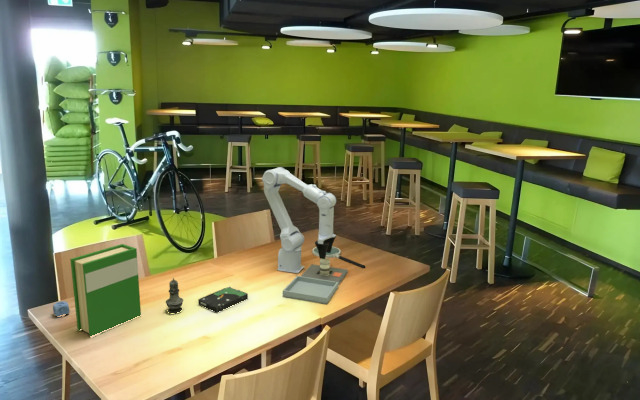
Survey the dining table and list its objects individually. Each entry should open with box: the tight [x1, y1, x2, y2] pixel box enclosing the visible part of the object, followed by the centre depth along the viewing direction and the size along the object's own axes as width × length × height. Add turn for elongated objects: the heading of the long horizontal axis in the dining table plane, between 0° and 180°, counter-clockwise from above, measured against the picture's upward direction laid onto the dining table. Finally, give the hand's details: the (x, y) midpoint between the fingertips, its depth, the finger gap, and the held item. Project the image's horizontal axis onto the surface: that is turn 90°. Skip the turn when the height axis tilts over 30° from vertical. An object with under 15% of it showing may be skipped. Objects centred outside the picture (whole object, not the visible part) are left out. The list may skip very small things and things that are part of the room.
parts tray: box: [282, 275, 339, 305], centre depth 180 cm, size 17×15×2 cm
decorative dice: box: [52, 300, 70, 316], centre depth 158 cm, size 4×4×4 cm
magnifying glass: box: [312, 245, 366, 269], centre depth 217 cm, size 13×31×2 cm, turn 42°
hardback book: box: [70, 243, 142, 337], centre depth 151 cm, size 18×7×24 cm, turn 146°
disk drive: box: [197, 286, 249, 313], centre depth 171 cm, size 10×3×15 cm
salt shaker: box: [165, 277, 184, 314], centre depth 162 cm, size 6×6×12 cm
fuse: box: [319, 258, 331, 276], centre depth 196 cm, size 4×4×7 cm
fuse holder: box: [300, 263, 349, 286], centre depth 196 cm, size 16×14×2 cm
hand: (325, 255), depth 194 cm, fingers open, 7 cm apart
